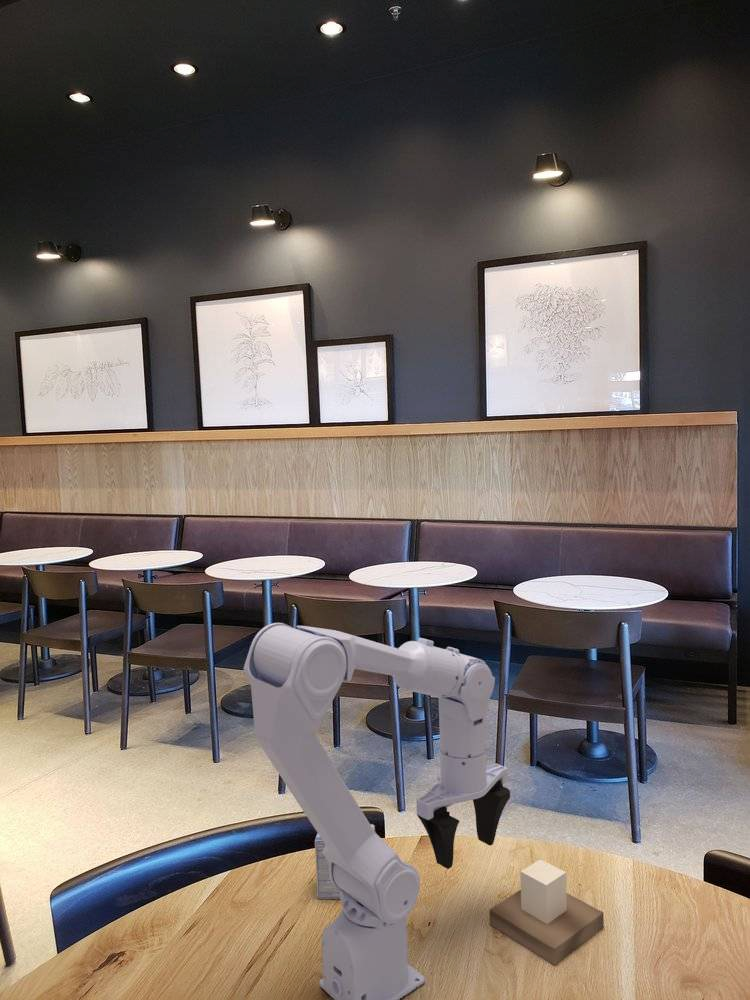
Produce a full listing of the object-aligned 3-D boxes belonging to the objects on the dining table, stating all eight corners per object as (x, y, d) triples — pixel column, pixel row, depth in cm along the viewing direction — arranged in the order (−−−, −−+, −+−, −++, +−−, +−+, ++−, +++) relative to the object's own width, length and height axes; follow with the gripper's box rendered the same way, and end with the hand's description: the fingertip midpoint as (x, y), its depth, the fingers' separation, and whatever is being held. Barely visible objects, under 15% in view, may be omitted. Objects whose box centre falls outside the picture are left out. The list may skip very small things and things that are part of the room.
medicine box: (377, 882, 104) (375, 823, 103) (374, 902, 99) (372, 840, 98) (322, 881, 104) (319, 822, 104) (316, 900, 100) (314, 839, 99)
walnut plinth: (554, 965, 86) (554, 949, 86) (489, 924, 94) (489, 909, 93) (603, 927, 92) (603, 912, 92) (539, 892, 100) (538, 878, 100)
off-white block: (547, 924, 90) (546, 885, 90) (521, 909, 93) (520, 871, 93) (566, 910, 93) (566, 872, 92) (540, 896, 96) (540, 859, 95)
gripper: (478, 724, 100) (480, 821, 101) (398, 756, 91) (401, 862, 92) (519, 739, 94) (521, 841, 95) (438, 774, 85) (441, 886, 86)
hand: (465, 853), depth 93 cm, fingers open, 7 cm apart
